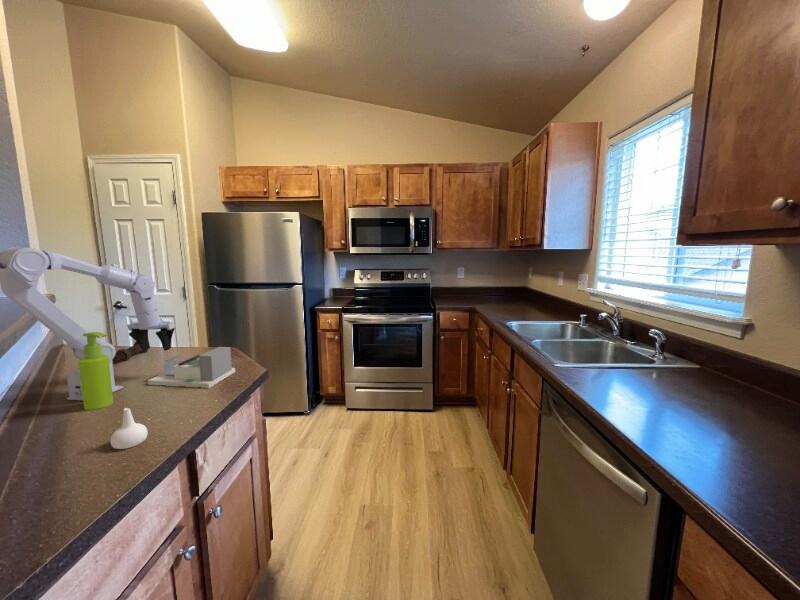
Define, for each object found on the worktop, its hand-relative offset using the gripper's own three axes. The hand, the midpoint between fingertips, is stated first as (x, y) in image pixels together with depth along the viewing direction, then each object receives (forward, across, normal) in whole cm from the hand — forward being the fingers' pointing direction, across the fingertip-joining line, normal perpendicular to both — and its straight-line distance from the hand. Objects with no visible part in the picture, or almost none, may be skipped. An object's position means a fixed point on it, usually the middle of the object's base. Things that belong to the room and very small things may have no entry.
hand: (157, 349), depth 109 cm
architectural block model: (+9, -13, +2) cm, 16 cm away
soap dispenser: (+6, -2, +23) cm, 24 cm away
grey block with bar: (+7, -9, +2) cm, 12 cm away
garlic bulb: (+5, -25, +38) cm, 46 cm away
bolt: (+10, +26, -14) cm, 31 cm away
